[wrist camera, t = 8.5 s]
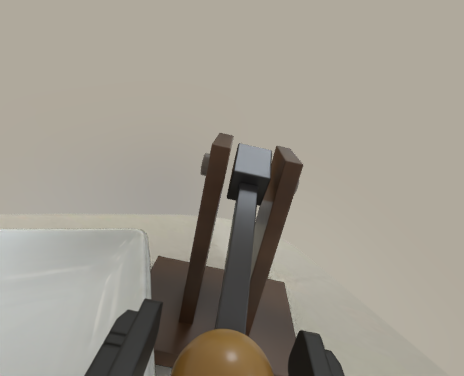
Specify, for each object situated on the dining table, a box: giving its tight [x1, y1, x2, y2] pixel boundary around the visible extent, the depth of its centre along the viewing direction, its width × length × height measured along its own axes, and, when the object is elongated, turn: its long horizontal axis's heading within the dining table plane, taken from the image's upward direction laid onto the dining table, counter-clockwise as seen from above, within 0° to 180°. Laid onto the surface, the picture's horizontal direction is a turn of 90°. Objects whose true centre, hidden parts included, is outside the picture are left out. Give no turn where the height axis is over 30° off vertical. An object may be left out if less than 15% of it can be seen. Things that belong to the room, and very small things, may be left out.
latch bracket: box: [150, 133, 303, 376], centre depth 18 cm, size 9×12×14 cm
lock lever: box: [170, 143, 274, 376], centre depth 13 cm, size 14×4×4 cm, turn 177°
